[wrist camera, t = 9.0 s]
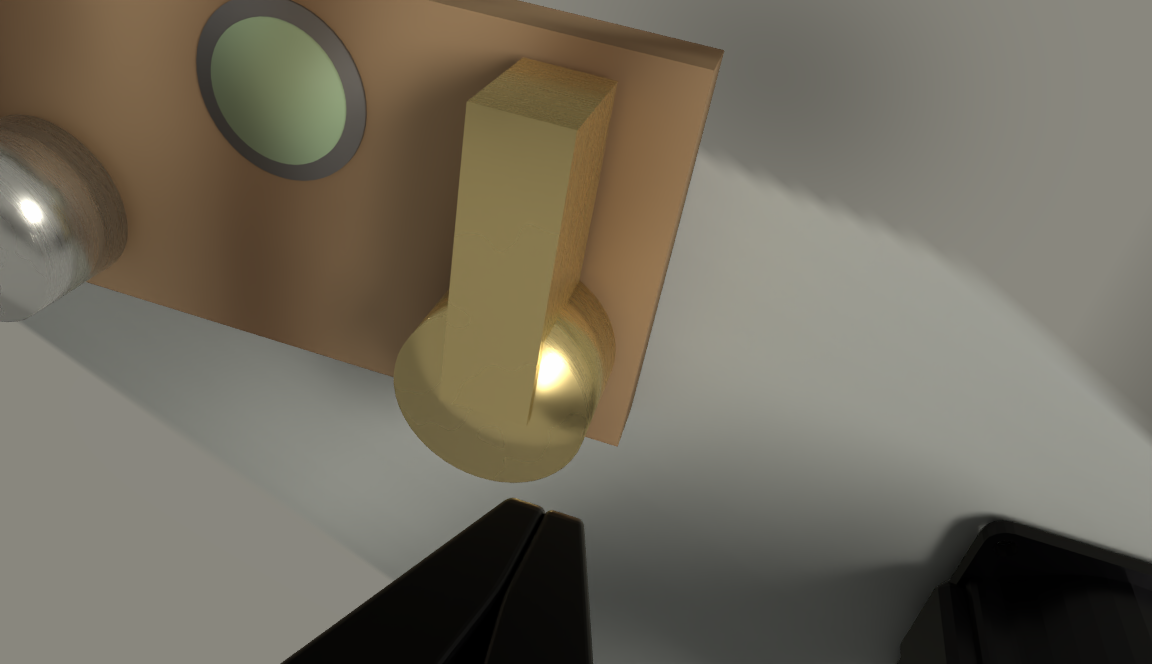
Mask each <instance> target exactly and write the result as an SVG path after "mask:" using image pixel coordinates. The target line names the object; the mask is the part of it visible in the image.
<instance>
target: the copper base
mask: <svg viewBox="0 0 1152 664" xmlns="http://www.w3.org/2000/svg"><path fill="white" fill-rule="evenodd" d="M723 53H724V50H721V49H717V48H713V47H708V46H704V45H700V44H696V43H692V42H688V41H683V40H680V39H676V38H671V37H667V36H663V35H659V34H655V33H651V32H647V31H642V30H638V29H634V28H630V27H626V26H622V25H618V24H613V23H609V22H605V21H601V20H597V19H593V18H589V17H585V16H580V15H576V14H572V13H568V12H564V11H560V10H556V9H552V8H547V7H543V6H539V5H535V4H531V3H527V2H522V1H518V0H0V118H1V117H4V116H9V115H20V114H22V115H29V116H34V117H38V118H41V119H44V120H46V121H49V122H51V123H53V124H55V125H57V126H59V127H61V128H62V129H64V130H65V131H67V132H68V133H70V134H71V135H73V136H74V137H75V138H76V139H78V140H79V141H80V142H81V143H82V144H84V145H85V146H86V147H87V148H88V149H89V150H90V151H91V152H92V153H93V154H94V156H95V157H96V158H97V159H98V160H99V161H100V163H101V164H102V165H103V167H104V168H105V169H106V171H107V172H108V174H109V175H110V177H111V178H112V180H113V182H114V184H115V186H116V188H117V190H118V192H119V194H120V196H121V199H122V201H123V204H124V208H125V211H126V216H127V222H128V236H127V243H126V246H125V249H124V251H123V253H122V255H121V257H120V258H119V259H118V260H117V261H116V262H115V263H114V264H113V265H112V266H110V267H108V268H107V269H105V270H104V271H102V272H100V273H99V274H97V275H96V276H94V277H92V278H91V279H89V280H88V281H86V282H88V283H92V284H95V285H98V286H101V287H105V288H108V289H111V290H114V291H117V292H121V293H124V294H127V295H130V296H134V297H137V298H140V299H143V300H146V301H150V302H153V303H156V304H159V305H163V306H166V307H169V308H172V309H175V310H179V311H182V312H185V313H188V314H192V315H195V316H198V317H201V318H204V319H208V320H211V321H214V322H217V323H221V324H224V325H227V326H230V327H233V328H237V329H240V330H243V331H246V332H250V333H253V334H256V335H259V336H262V337H266V338H269V339H272V340H275V341H279V342H282V343H285V344H288V345H292V346H295V347H298V348H301V349H304V350H308V351H311V352H314V353H317V354H321V355H324V356H327V357H330V358H333V359H337V360H340V361H343V362H346V363H350V364H353V365H356V366H359V367H362V368H366V369H369V370H372V371H375V372H379V373H382V374H385V375H388V376H391V377H394V369H395V363H396V360H397V356H398V354H399V352H400V350H401V348H402V346H403V345H404V343H405V342H406V341H407V339H408V338H409V337H410V336H411V334H412V333H413V332H414V331H415V329H416V328H417V327H418V326H419V325H420V323H421V322H422V321H423V320H424V319H425V317H426V316H427V315H428V314H429V312H430V311H431V310H432V309H433V308H434V306H435V305H436V304H437V303H438V301H439V300H440V299H441V298H442V297H443V295H444V294H445V293H446V292H447V291H448V289H449V287H450V276H451V265H452V255H453V244H454V233H455V222H456V211H457V201H458V190H459V179H460V168H461V158H462V147H463V136H464V125H465V114H466V104H467V101H468V100H469V99H471V98H472V97H473V96H474V95H476V94H477V93H478V92H480V91H481V90H482V89H483V88H485V87H486V86H487V85H488V84H490V83H491V82H492V81H494V80H495V79H496V78H497V77H499V76H500V75H501V74H503V73H504V72H505V71H506V70H508V69H509V68H510V67H512V66H513V65H514V64H515V63H517V62H518V61H519V60H520V59H522V58H523V57H524V58H528V59H532V60H536V61H540V62H544V63H548V64H552V65H556V66H560V67H564V68H568V69H572V70H576V71H580V72H584V73H588V74H592V75H596V76H600V77H604V78H608V79H612V80H616V81H618V84H617V89H616V95H615V100H614V105H613V110H612V115H611V120H610V125H609V131H608V136H607V141H606V146H605V151H604V156H603V162H602V167H601V172H600V177H599V182H598V187H597V192H596V198H595V203H594V208H593V213H592V218H591V223H590V229H589V234H588V239H587V244H586V249H585V254H584V260H583V265H582V270H581V275H580V280H579V281H581V282H582V283H583V284H584V285H585V286H586V287H587V288H588V289H589V290H590V291H591V292H592V293H593V294H594V295H595V296H596V298H597V299H598V300H599V301H600V303H601V304H602V306H603V308H604V309H605V311H606V313H607V315H608V317H609V319H610V322H611V325H612V328H613V331H614V336H615V343H616V355H615V361H614V366H613V369H612V372H611V374H610V377H609V379H608V382H607V384H606V387H605V389H604V391H603V394H602V396H601V399H600V401H599V403H598V406H597V408H596V411H595V413H594V416H593V418H592V420H591V423H590V425H589V428H588V430H587V432H586V435H585V437H588V438H591V439H595V440H598V441H601V442H604V443H607V444H611V445H614V446H618V444H619V441H620V438H621V435H622V432H623V430H624V427H625V424H626V421H627V418H628V416H629V413H630V410H631V406H632V403H633V399H634V395H635V391H636V387H637V383H638V380H639V376H640V372H641V368H642V364H643V360H644V357H645V353H646V349H647V345H648V341H649V337H650V333H651V330H652V326H653V322H654V318H655V314H656V310H657V307H658V303H659V299H660V295H661V291H662V287H663V284H664V280H665V276H666V272H667V268H668V264H669V261H670V257H671V253H672V249H673V245H674V241H675V238H676V234H677V230H678V226H679V222H680V218H681V214H682V211H683V207H684V203H685V199H686V195H687V191H688V188H689V184H690V180H691V176H692V172H693V168H694V165H695V161H696V157H697V153H698V149H699V145H700V142H701V138H702V134H703V130H704V126H705V122H706V119H707V115H708V111H709V107H710V103H711V99H712V95H713V91H714V88H715V84H716V80H717V76H718V72H719V68H720V65H721V61H722V57H723Z"/></svg>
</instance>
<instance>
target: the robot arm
mask: <svg viewBox="0 0 1152 664" xmlns="http://www.w3.org/2000/svg"><path fill="white" fill-rule="evenodd" d="M1000 541H1011V543H1009V544H1005V545H1003V544H997V543H998V542H1000ZM900 653H901V658H900V660H899V661H898V663H897V664H1152V564H1150V563H1146V562H1143V561H1140V560H1136V559H1133V558H1130V557H1126V556H1123V555H1120V554H1117V553H1113V552H1110V551H1107V550H1103V549H1100V548H1097V547H1093V546H1090V545H1087V544H1084V543H1080V542H1077V541H1074V540H1070V539H1067V538H1064V537H1060V536H1057V535H1054V534H1051V533H1047V532H1044V531H1041V530H1037V529H1034V528H1031V527H1027V526H1024V525H1021V524H1018V523H1014V522H1009V521H995V522H992V523H990V524H988V525H986V526H985V527H984V528H983V529H982V530H981V532H980V533H979V535H978V536H977V538H976V540H975V541H974V543H973V544H972V546H971V547H970V549H969V551H968V552H967V554H966V555H965V557H964V558H963V560H962V562H961V563H960V565H959V566H958V568H957V570H956V571H955V573H954V574H953V576H952V577H951V579H950V581H949V582H947V581H946V582H944V583H942V584H940V585H939V586H937V587H936V588H935V590H934V591H933V593H932V594H931V596H930V598H929V599H928V601H927V603H926V604H925V606H924V607H923V609H922V611H921V612H920V614H919V615H918V617H917V619H916V620H915V622H914V623H913V625H912V627H911V628H910V630H909V631H908V633H907V635H906V636H905V638H904V639H903V641H902V643H901V645H900ZM281 664H593V653H592V638H591V623H590V608H589V592H588V577H587V562H586V547H585V532H584V524H583V522H582V521H581V519H579V518H576V517H572V516H569V515H566V514H563V513H560V512H557V511H554V510H550V511H548V512H546V513H545V511H544V509H543V508H542V507H540V506H538V505H535V504H531V503H528V502H525V501H522V500H519V499H516V498H509V499H506V500H505V501H503V502H502V503H500V504H499V505H498V506H496V507H495V508H494V509H492V510H491V511H489V512H488V513H487V514H485V515H484V516H483V517H481V518H480V519H479V520H477V521H476V522H474V523H473V524H472V525H470V526H469V527H468V528H466V529H465V530H463V531H462V532H461V533H459V534H458V535H457V536H455V537H454V538H452V539H451V540H450V541H448V542H447V543H446V544H444V545H443V546H441V547H440V548H439V549H437V550H436V551H435V552H433V553H432V554H430V555H429V556H428V557H426V558H425V559H424V560H422V561H421V562H419V563H418V564H417V565H415V566H414V567H413V568H411V569H410V570H408V571H407V572H406V573H404V574H403V575H402V576H400V577H399V578H397V579H396V580H395V581H393V582H392V583H391V584H389V585H388V586H386V587H385V588H384V589H382V590H381V591H380V592H378V593H377V594H375V595H374V596H373V597H372V598H370V599H369V600H367V601H366V602H365V603H363V604H362V605H360V606H359V607H358V608H356V609H355V610H354V611H352V612H351V613H349V614H348V615H347V616H346V617H344V618H343V619H341V620H340V621H338V622H337V623H336V624H334V625H333V626H332V627H330V628H329V629H328V630H326V631H325V632H323V633H322V634H321V635H319V636H318V637H316V638H315V639H314V640H312V641H311V642H310V643H308V644H307V645H305V646H304V647H303V648H301V649H300V650H299V651H297V652H296V653H294V654H293V655H292V656H291V657H289V658H288V659H286V660H285V661H283V662H282V663H281Z"/></svg>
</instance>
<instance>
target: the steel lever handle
mask: <svg viewBox="0 0 1152 664" xmlns="http://www.w3.org/2000/svg"><path fill="white" fill-rule="evenodd" d="M127 236H128V222H127V216H126V211H125V208H124V204H123V201H122V199H121V196H120V194H119V192H118V190H117V188H116V186H115V184H114V182H113V180H112V178H111V177H110V175H109V174H108V172H107V171H106V169H105V168H104V167H103V165H102V164H101V163H100V161H99V160H98V159H97V158H96V157H95V156H94V154H93V153H92V152H91V151H90V150H89V149H88V148H87V147H86V146H85V145H84V144H82V143H81V142H80V141H79V140H78V139H76V138H75V137H74V136H73V135H71V134H70V133H68V132H67V131H65V130H64V129H62V128H61V127H59V126H57V125H55V124H53V123H51V122H49V121H46V120H44V119H41V118H38V117H34V116H29V115H22V114H20V115H9V116H4V117H1V118H0V321H2V322H14V321H20V320H24V319H26V318H28V317H30V316H32V315H33V314H35V313H37V312H38V311H40V310H41V309H43V308H45V307H46V306H48V305H49V304H51V303H53V302H54V301H56V300H57V299H59V298H61V297H62V296H64V295H65V294H67V293H68V292H70V291H72V290H73V289H75V288H76V287H78V286H80V285H81V284H83V283H84V282H86V281H88V280H89V279H91V278H92V277H94V276H96V275H97V274H99V273H100V272H102V271H104V270H105V269H107V268H108V267H110V266H112V265H113V264H114V263H115V262H116V261H117V260H118V259H119V258H120V257H121V255H122V253H123V251H124V249H125V246H126V243H127Z"/></svg>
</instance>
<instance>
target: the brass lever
mask: <svg viewBox="0 0 1152 664" xmlns="http://www.w3.org/2000/svg"><path fill="white" fill-rule="evenodd" d="M617 84H618V81H616V80H612V79H608V78H604V77H600V76H596V75H592V74H588V73H584V72H580V71H576V70H572V69H568V68H564V67H560V66H556V65H552V64H548V63H544V62H540V61H536V60H532V59H528V58H524V57H523V58H522V59H520V60H519V61H518V62H517V63H515V64H514V65H513V66H512V67H510V68H509V69H508V70H506V71H505V72H504V73H503V74H501V75H500V76H499V77H497V78H496V79H495V80H494V81H492V82H491V83H490V84H488V85H487V86H486V87H485V88H483V89H482V90H481V91H480V92H478V93H477V94H476V95H474V96H473V97H472V98H471V99H469V100H468V101H467V104H466V114H465V125H464V136H463V147H462V158H461V168H460V179H459V190H458V201H457V211H456V222H455V233H454V244H453V255H452V265H451V276H450V287H449V289H448V291H447V292H446V293H445V294H444V295H443V297H442V298H441V299H440V300H439V301H438V303H437V304H436V305H435V306H434V308H433V309H432V310H431V311H430V312H429V314H428V315H427V316H426V317H425V319H424V320H423V321H422V322H421V323H420V325H419V326H418V327H417V328H416V329H415V331H414V332H413V333H412V334H411V336H410V337H409V338H408V339H407V341H406V342H405V343H404V345H403V346H402V348H401V350H400V352H399V354H398V356H397V360H396V363H395V369H394V388H395V394H396V398H397V401H398V404H399V407H400V409H401V412H402V414H403V416H404V418H405V419H406V421H407V423H408V424H409V426H410V427H411V429H412V430H413V431H414V433H415V434H416V435H417V437H418V438H419V439H420V440H421V441H422V442H423V443H424V444H425V445H426V446H427V447H428V448H429V449H430V450H431V451H433V452H434V453H435V454H436V455H438V456H439V457H440V458H442V459H443V460H444V461H446V462H448V463H449V464H451V465H453V466H454V467H456V468H458V469H460V470H462V471H464V472H466V473H469V474H472V475H474V476H477V477H481V478H484V479H488V480H493V481H499V482H510V483H517V482H528V481H534V480H538V479H541V478H545V477H547V476H549V475H552V474H554V473H556V472H557V471H559V470H560V469H562V468H563V467H564V466H566V465H567V464H568V463H569V462H570V461H571V460H572V459H573V457H574V456H575V455H576V453H577V452H578V450H579V448H580V446H581V444H582V442H583V440H584V437H585V435H586V432H587V430H588V428H589V425H590V423H591V420H592V418H593V416H594V413H595V411H596V408H597V406H598V403H599V401H600V399H601V396H602V394H603V391H604V389H605V387H606V384H607V382H608V379H609V377H610V374H611V372H612V369H613V366H614V361H615V355H616V343H615V336H614V331H613V328H612V325H611V322H610V319H609V317H608V315H607V313H606V311H605V309H604V308H603V306H602V304H601V303H600V301H599V300H598V299H597V298H596V296H595V295H594V294H593V293H592V292H591V291H590V290H589V289H588V288H587V287H586V286H585V285H584V284H583V283H582V282H581V281H579V280H580V275H581V270H582V265H583V260H584V254H585V249H586V244H587V239H588V234H589V229H590V223H591V218H592V213H593V208H594V203H595V198H596V192H597V187H598V182H599V177H600V172H601V167H602V162H603V156H604V151H605V146H606V141H607V136H608V131H609V125H610V120H611V115H612V110H613V105H614V100H615V95H616V89H617Z"/></svg>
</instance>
